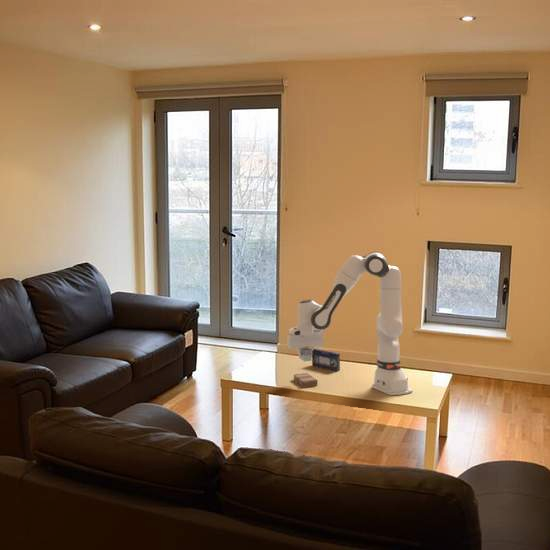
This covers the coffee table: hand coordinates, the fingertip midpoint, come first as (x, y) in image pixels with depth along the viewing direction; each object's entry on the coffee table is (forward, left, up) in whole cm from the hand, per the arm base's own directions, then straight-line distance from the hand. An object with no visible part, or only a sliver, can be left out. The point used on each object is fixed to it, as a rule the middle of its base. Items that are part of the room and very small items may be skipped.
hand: (305, 355), depth 362 cm
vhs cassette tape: (+21, -22, -16) cm, 34 cm away
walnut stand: (0, 0, -15) cm, 15 cm away
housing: (0, 0, -2) cm, 2 cm away
